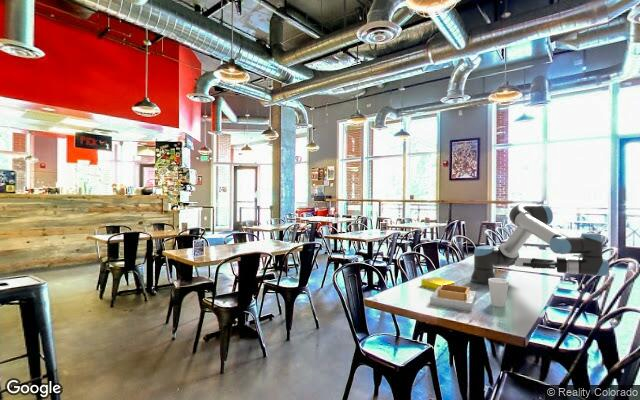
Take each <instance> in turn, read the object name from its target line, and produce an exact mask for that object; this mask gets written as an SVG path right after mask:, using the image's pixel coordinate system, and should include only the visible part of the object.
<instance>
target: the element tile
mask: <svg viewBox="0 0 640 400" xmlns="http://www.w3.org/2000/svg"><path fill="white" fill-rule="evenodd" d="M442 284H448V285H455V281H454V280H450V279H446V278H442V277H438V276H433V277H428V278H423V279H421V287H423V288H427V289H430V290H433V291H436V289H437V288H438V287H439V286H441V285H442Z"/></svg>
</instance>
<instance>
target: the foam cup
mask: <svg viewBox="0 0 640 400" xmlns="http://www.w3.org/2000/svg"><path fill="white" fill-rule="evenodd" d="M509 283H510V282H509V280H507V279H504V278H498V277H496V278H490V279H488V284H489V285H488V284H487V285H488V288H489V295H490V304H491V306H495V307H500V308H503V307H504V308H505V306H506V302H507V295H508V289H509V286H510V284H509Z"/></svg>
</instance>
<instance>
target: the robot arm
mask: <svg viewBox="0 0 640 400" xmlns="http://www.w3.org/2000/svg"><path fill="white" fill-rule="evenodd" d="M508 216H509V220H510V221H511V223H512V224H513V225H514V226H516V227H515V229H514V230H513V232H512V233H511V234H510V235H509V237H508V238H507V240H506V242H503V243H501V244H500V245H499V246H498V247H494V246H493V245H479V246H476V247H475V248H474V252H473V255H474V256H473V265H474V266H473V271H472V275H471V277H470V281H471V282H473V283H475V284H479V285H488V286H489V284H488V279H490V278H497V277H496V274H495V271H494V268H495V267H500V266H501V267H511V266H514V267H521V268H531V269H548V270H549V269H550V270H552V269H553V270H555V269H556V272H557V273H560V274H561V273H562V274H567V273H568V274H572V275H574V276H576V275H586V276H596V277H597V276H601V277H603V276H605V277H607V276H608V275H609V274H610V263H609V260H607V259H605V258H604V257H603V237H602V234H600V233H598V232H597V233H596V232H582V233H581V235H580V236H577V237H576V236H575V237H572V236H571V237H570V236H567V235H565V234H563V233H561V232H560V231H558V230H556V229H555V228H553V227H552V226H549V225H551V224H552V221H553V219H554V215H553V210H552V208H551V207H550V206H549V205H546V204H540V203H539V204H525V203H524V204H518V205H514V206H513V207H512V208H511V210H509V215H508ZM532 235H534V236H535V237H536V238H537V239H540V240H541V241H543V242H545V243H546V244H548V245H549V249H550V250H551V251H552V252H553V253H554V254H559V255H568V254H569V255H570V254H571V255H572V254H573V255H574V254H576V255H577V254H581V257H572V256H571V257H570V256H569V257H565V256H556V261H555V260H554V259H543V258H535V257H533V258H530V257H529V258H528V257H520V254H519V250H520V249H521V248H522V247H523V245H524V244H525V243H526V242H527V241H528V239H529V238H531V236H532Z"/></svg>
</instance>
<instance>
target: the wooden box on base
mask: <svg viewBox="0 0 640 400" xmlns="http://www.w3.org/2000/svg"><path fill="white" fill-rule="evenodd" d="M476 300H477V291H475V290H471V287H469V286H464V285H463V286H462V285H455V284H454V285H448V284H442V285H441V286H439V287H438V288H437V289H436V290H434V291H433V293H432V294H431V295H430V299H429V305H430V306H435V307H442V308H448V309H455V310H461V311H467V312H472V311H473V308H474V305H475V303H476Z"/></svg>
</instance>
